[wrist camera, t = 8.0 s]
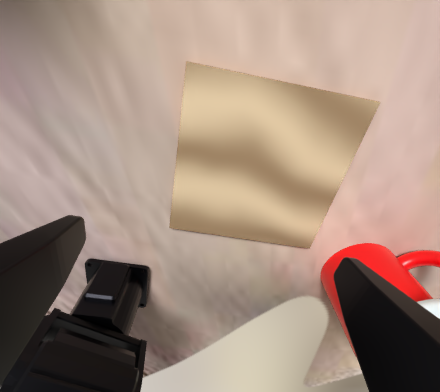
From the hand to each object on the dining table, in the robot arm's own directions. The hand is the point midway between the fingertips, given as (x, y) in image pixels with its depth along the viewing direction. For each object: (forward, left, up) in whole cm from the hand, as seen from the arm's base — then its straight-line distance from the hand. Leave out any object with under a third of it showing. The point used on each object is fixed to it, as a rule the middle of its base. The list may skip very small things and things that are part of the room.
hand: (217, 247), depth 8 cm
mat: (-2, -4, -12) cm, 13 cm away
